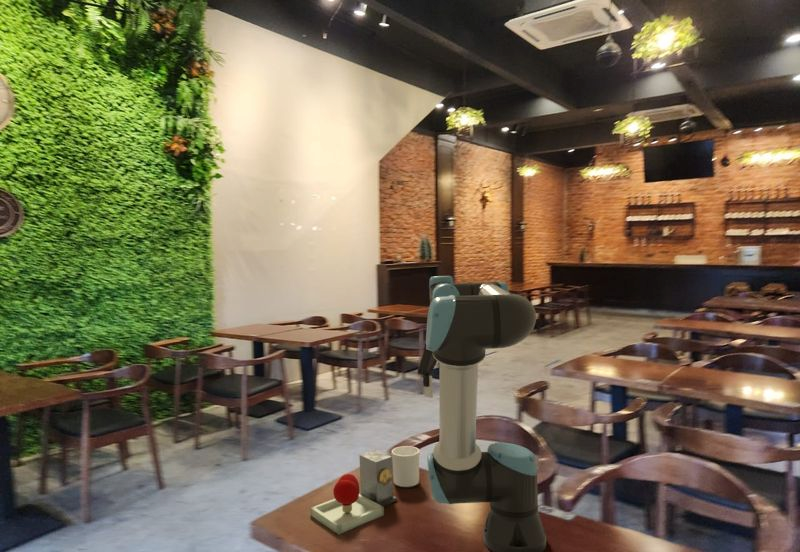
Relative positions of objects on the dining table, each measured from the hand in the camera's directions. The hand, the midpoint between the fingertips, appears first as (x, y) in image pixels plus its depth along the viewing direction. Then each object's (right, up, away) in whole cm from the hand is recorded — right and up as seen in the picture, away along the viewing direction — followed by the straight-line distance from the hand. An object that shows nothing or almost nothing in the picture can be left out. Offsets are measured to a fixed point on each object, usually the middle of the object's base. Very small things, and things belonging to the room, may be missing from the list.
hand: (444, 393), depth 161 cm
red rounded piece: (-29, -30, -18) cm, 45 cm away
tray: (-29, -30, -18) cm, 45 cm away
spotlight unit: (-21, -30, -9) cm, 37 cm away
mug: (-12, -29, +3) cm, 32 cm away
